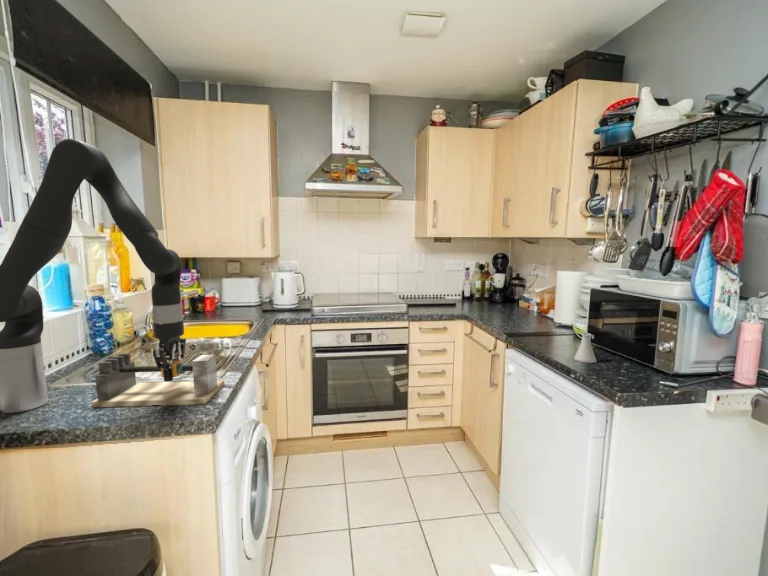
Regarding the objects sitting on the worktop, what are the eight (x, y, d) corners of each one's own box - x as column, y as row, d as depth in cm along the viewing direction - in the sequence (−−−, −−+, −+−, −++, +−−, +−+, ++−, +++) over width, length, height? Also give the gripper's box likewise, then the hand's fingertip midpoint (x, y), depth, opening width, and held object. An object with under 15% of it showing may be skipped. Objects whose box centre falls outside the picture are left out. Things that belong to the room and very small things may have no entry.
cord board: (91, 407, 101) (87, 366, 100) (125, 387, 115) (121, 351, 114) (205, 404, 102) (202, 363, 101) (224, 385, 116) (222, 349, 115)
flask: (600, 363, 134) (602, 336, 133) (580, 363, 134) (581, 336, 133) (589, 357, 141) (590, 331, 140) (570, 357, 141) (571, 331, 140)
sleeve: (161, 377, 106) (160, 364, 106) (168, 372, 110) (167, 360, 110) (176, 377, 106) (175, 364, 106) (182, 372, 110) (181, 360, 110)
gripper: (167, 315, 113) (172, 370, 115) (139, 325, 99) (144, 387, 101) (193, 314, 114) (197, 369, 116) (168, 324, 99) (173, 387, 101)
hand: (172, 377), depth 108 cm, fingers closed on sleeve, 3 cm apart
